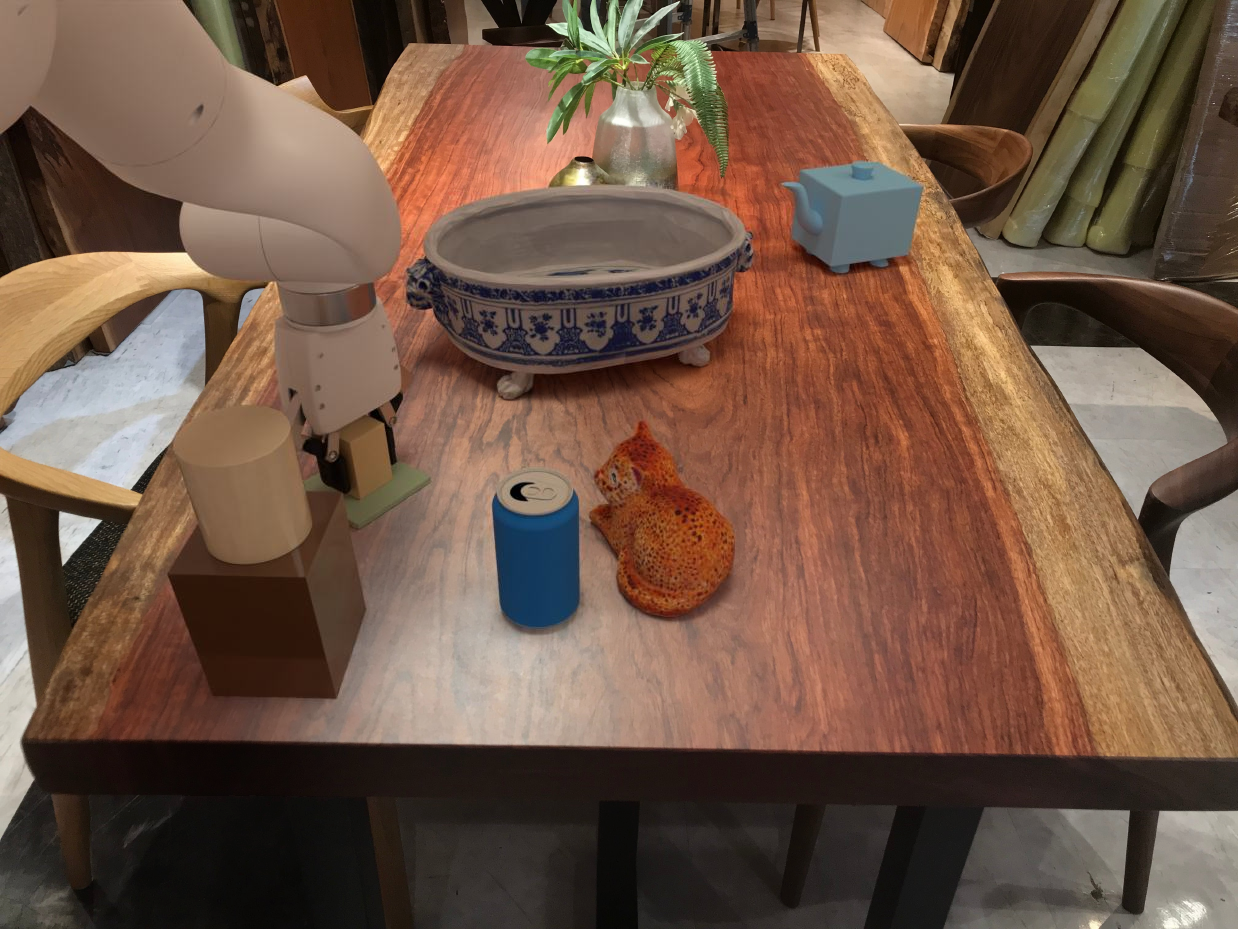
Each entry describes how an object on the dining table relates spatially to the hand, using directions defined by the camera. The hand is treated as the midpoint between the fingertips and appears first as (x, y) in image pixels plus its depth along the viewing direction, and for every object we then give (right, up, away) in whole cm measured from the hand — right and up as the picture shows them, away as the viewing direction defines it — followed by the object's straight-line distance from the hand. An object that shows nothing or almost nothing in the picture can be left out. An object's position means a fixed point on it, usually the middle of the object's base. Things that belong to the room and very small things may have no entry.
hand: (360, 471), depth 84 cm
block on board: (0, -1, +1) cm, 2 cm away
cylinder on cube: (-1, -14, -16) cm, 21 cm away
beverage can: (+18, -11, -11) cm, 24 cm away
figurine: (+28, -7, -6) cm, 29 cm away
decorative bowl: (+21, +15, +25) cm, 36 cm away
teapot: (+56, +31, +48) cm, 80 cm away
